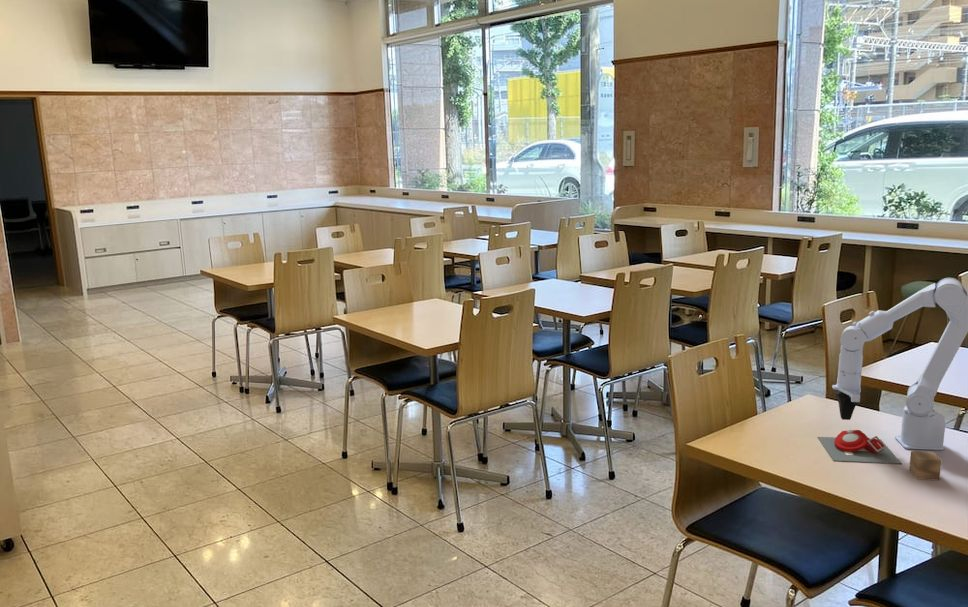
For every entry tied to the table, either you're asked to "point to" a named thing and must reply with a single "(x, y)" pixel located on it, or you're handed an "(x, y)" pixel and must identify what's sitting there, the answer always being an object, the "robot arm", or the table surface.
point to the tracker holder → (858, 442)
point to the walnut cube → (925, 465)
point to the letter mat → (858, 453)
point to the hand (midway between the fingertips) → (845, 418)
